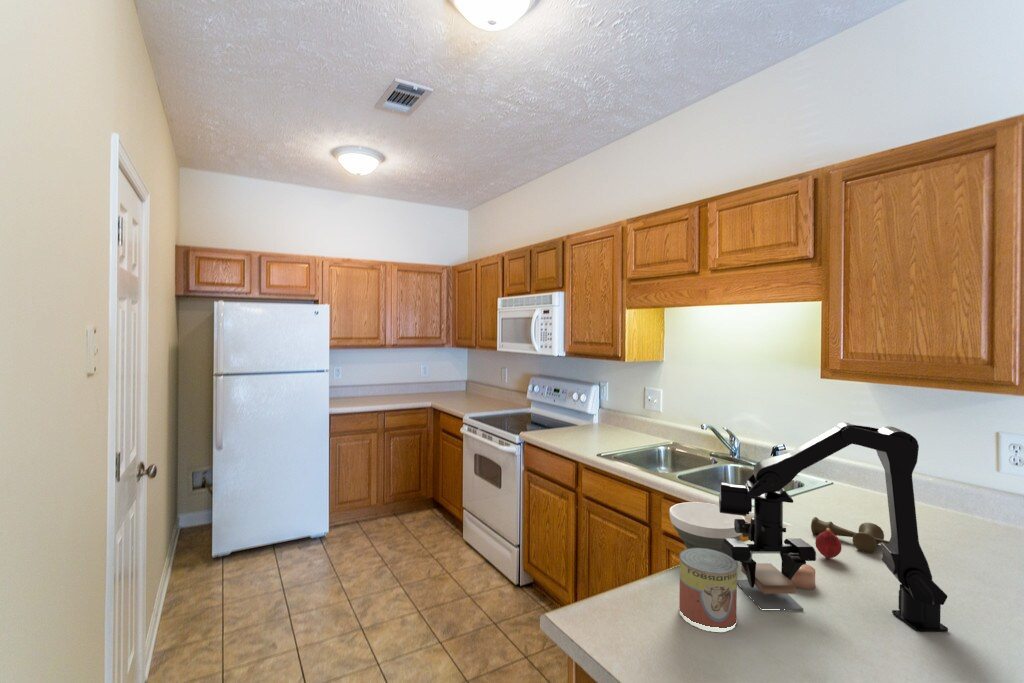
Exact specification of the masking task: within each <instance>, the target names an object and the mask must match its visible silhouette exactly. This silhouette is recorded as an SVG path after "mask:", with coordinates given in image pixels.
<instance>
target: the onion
mask: <svg viewBox="0 0 1024 683" xmlns="http://www.w3.org/2000/svg"><path fill="white" fill-rule="evenodd" d="M814 544H815V547H816V549H817V551H818V552H819V554H820V555H822V556H823V557H825V559H828V560H829V559H832V558H835V557H838V556H839V555H840V553H842V550H843V549H842V548H843V547H842V542H841V540H840V538H839V536H836V535H835V534H833V533H832V532H831V530H830V529H829V528H827V529H826V531H825V532H822V533H819V534H817V536H816V538H815V542H814Z"/></svg>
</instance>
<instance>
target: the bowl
mask: <svg viewBox="0 0 1024 683" xmlns="http://www.w3.org/2000/svg"><path fill="white" fill-rule="evenodd" d="M669 519H670V522H671V524H672V526H673V527H674V530H675V531H676V532H677V534H678V537H679V538H680V539H681V540H682V541H683V544H684V546H685V548H686V549H689V548H707V549H712V550H716V551H719V552H722V553H725V552H724V551H723V550H722V542H723V540H724V539H725V538H740V539H741V536H743V534H742V533H736V532H735V528H734V520H735V519H744V520H745V522H746V518H745V516H741V515H733V514H725V513H720V512H719V504H715V503H714V504H713V503H709V502H701V501H700V502H699V501H697V502H696V501H691V502H690V501H689V502H688V501H686V502H681V503H676V504H674V505H672V506H671V507H669ZM746 523H747V522H746ZM725 554H726V553H725Z"/></svg>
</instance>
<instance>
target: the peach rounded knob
mask: <svg viewBox="0 0 1024 683" xmlns="http://www.w3.org/2000/svg"><path fill="white" fill-rule="evenodd" d="M790 581H792V582H793V583H794V584H795V585H796V588H798V589H803V590H808V589H809V590H811V589H814V588H815V587H816V569H815V568H814V567H813V566H811V565H809V564H808V563H806V564H803V565H802V566H801V567H800V568H799V569H798V571H797V572H796V573H795V574H794V576H793V577H792V579H791V580H790Z"/></svg>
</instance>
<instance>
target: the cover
mask: <svg viewBox="0 0 1024 683" xmlns="http://www.w3.org/2000/svg"><path fill="white" fill-rule="evenodd" d="M740 563H741V562H740ZM740 565H741V570H740V571H741V572H742V573H743V574H744V575H745V576H746V574H745V571H744V568H743V566H742V563H741V564H740ZM754 584H755V585H756V586H757V587H758V588H759V589H760V590H761V591H762V592H763V593H764V594H788V595H792V594H793V595H794V594H795V595H796V594H797V587H796V585H795V584H794V583H793V582H792V581H790V580H789V579H788V578H787V577H786V576H785V575H784V574H782V573H781V571H780V570H779V569H778V568H777V567H775V566H774V565H773V564H772V563H770V562H769V563H765V562H763V563H760V562H758V563H757V562H756V572H755V583H754Z"/></svg>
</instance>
